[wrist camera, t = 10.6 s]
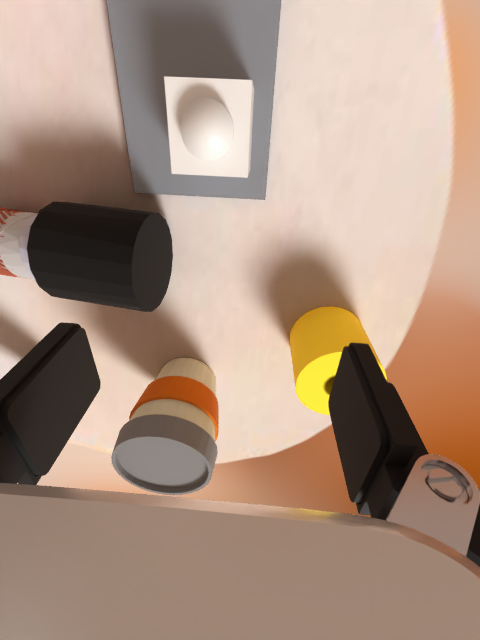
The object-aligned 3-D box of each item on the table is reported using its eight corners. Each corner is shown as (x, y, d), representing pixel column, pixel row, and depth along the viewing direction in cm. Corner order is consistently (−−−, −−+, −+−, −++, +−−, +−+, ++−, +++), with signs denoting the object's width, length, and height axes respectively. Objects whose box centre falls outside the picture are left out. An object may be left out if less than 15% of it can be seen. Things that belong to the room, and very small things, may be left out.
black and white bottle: (-73, 194, 39) (-192, 159, 29) (176, 225, 36) (138, 199, 26) (-76, 271, 40) (-192, 263, 30) (166, 309, 37) (126, 315, 27)
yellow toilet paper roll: (313, 295, 39) (325, 338, 31) (378, 323, 40) (406, 371, 32) (277, 349, 44) (280, 399, 36) (336, 372, 45) (351, 424, 37)
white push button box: (182, 85, 27) (160, 74, 21) (254, 89, 26) (251, 78, 21) (186, 166, 30) (168, 175, 24) (250, 169, 30) (247, 179, 24)
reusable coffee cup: (231, 404, 51) (221, 496, 38) (160, 406, 52) (127, 495, 39) (221, 346, 44) (205, 434, 31) (139, 349, 45) (92, 435, 33)
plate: (98, -101, 22) (90, -112, 21) (288, -97, 22) (289, -108, 21) (138, 190, 33) (134, 192, 32) (265, 197, 32) (265, 199, 31)
